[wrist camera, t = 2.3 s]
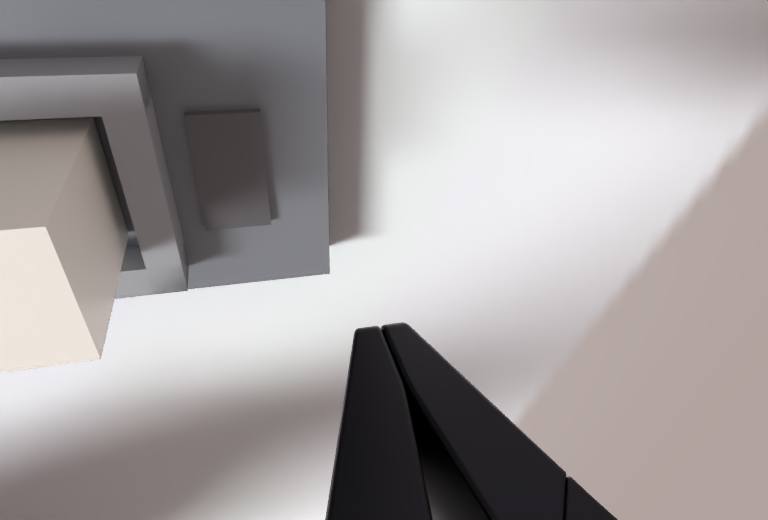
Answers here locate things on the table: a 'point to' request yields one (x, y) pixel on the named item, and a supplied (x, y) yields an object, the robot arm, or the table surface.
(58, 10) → the switch board
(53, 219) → the tab
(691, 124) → the table surface
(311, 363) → the table surface
